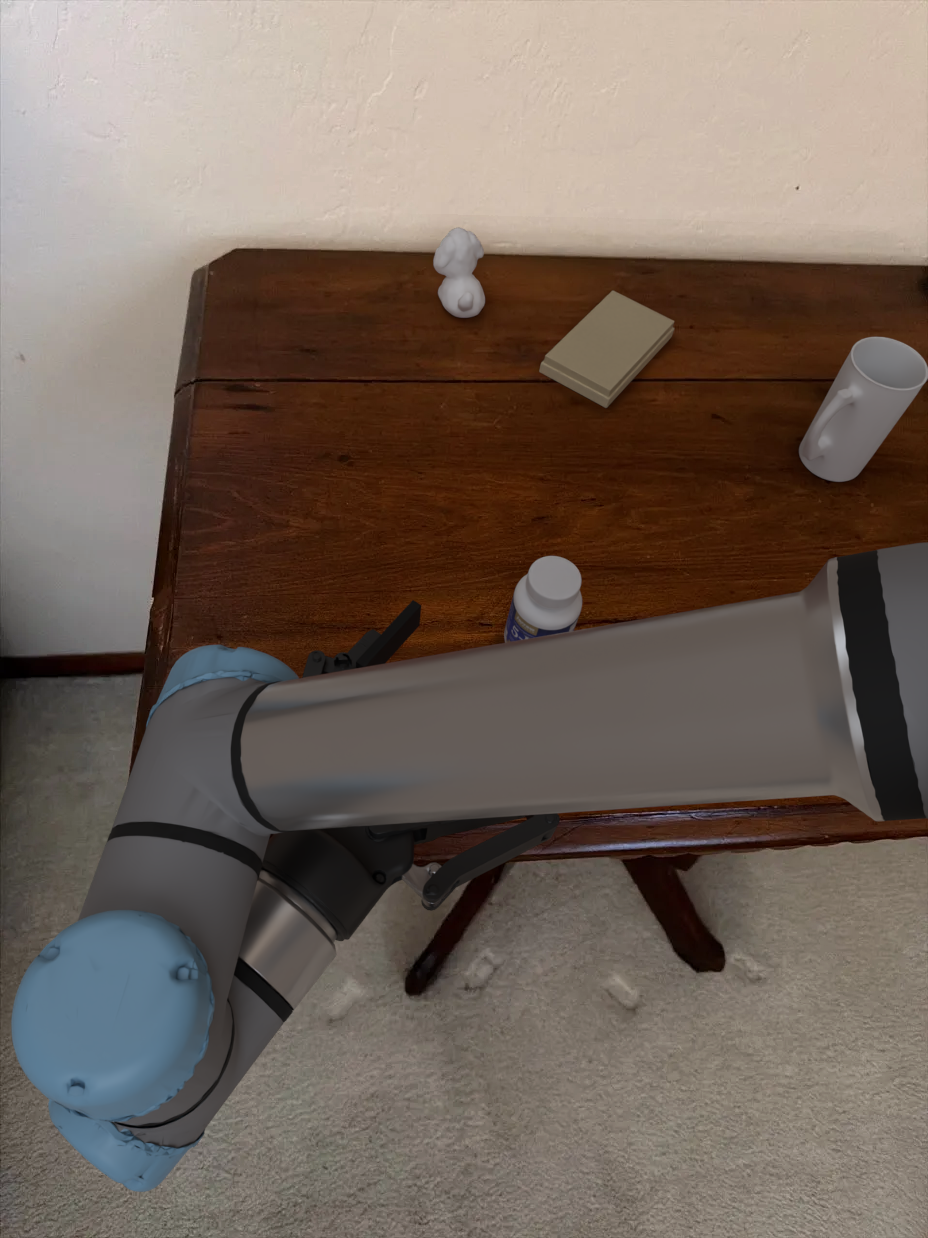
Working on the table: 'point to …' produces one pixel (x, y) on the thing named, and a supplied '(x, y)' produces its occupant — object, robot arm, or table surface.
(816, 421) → the mug
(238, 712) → the robot arm
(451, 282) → the figurine
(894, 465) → the table surface
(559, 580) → the pill bottle
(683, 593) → the table surface
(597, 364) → the beige stepped flat slab
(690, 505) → the table surface
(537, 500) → the table surface
